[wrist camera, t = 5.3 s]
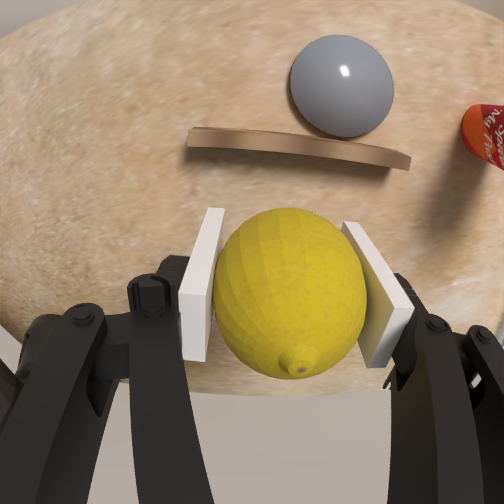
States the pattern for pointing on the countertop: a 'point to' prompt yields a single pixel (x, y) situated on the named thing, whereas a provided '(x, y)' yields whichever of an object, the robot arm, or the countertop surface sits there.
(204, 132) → the divider
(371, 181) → the countertop surface
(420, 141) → the countertop surface
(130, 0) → the countertop surface
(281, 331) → the lemon
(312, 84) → the coaster
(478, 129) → the paper cup
